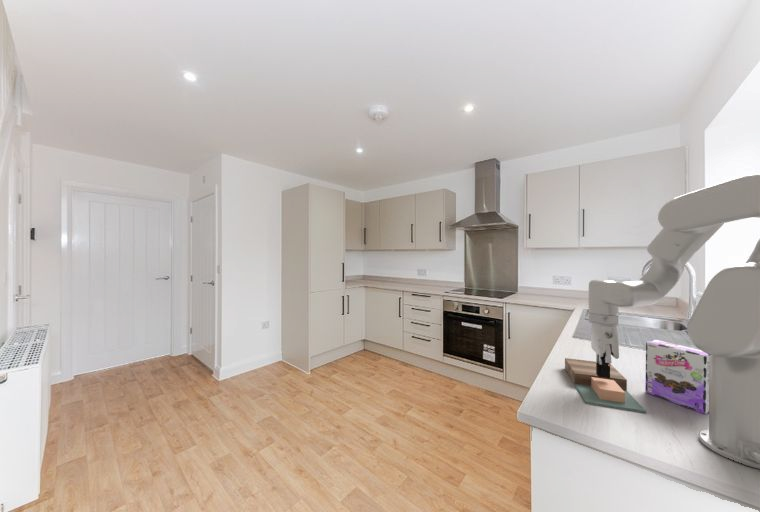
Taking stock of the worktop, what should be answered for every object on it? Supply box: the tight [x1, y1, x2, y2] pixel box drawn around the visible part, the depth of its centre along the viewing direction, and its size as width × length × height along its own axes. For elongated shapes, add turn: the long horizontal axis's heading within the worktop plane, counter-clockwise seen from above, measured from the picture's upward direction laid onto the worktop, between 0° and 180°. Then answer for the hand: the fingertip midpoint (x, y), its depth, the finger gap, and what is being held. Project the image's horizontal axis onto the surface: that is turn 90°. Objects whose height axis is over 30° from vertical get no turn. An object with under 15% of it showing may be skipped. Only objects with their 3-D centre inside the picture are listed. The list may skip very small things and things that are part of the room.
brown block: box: [564, 357, 628, 391], centre depth 101 cm, size 15×14×4 cm
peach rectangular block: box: [591, 377, 625, 403], centre depth 89 cm, size 9×6×3 cm, turn 158°
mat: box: [574, 384, 647, 414], centre depth 88 cm, size 12×14×1 cm
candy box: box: [645, 339, 711, 415], centre depth 86 cm, size 14×6×16 cm, turn 21°
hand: (603, 376), depth 92 cm, fingers closed
